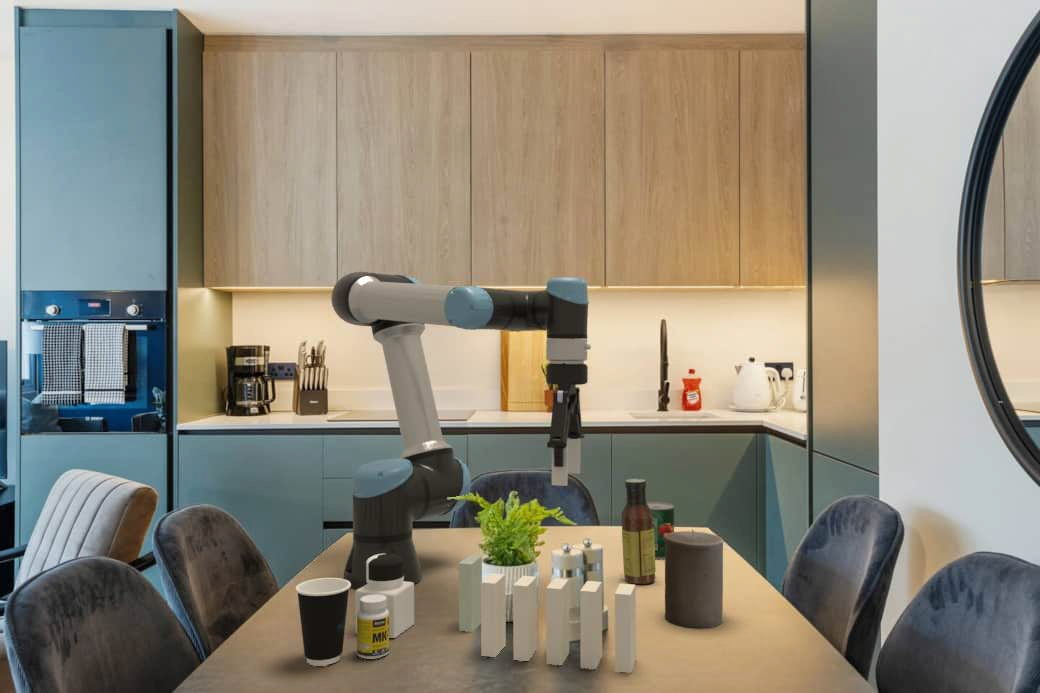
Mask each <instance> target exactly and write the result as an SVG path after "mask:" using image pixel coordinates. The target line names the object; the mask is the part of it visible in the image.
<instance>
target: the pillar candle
mask: <svg viewBox="0 0 1040 693" xmlns="http://www.w3.org/2000/svg"><path fill="white" fill-rule="evenodd" d="M723 573H724V539H723V537H721V536H718V535H715V534H713V533H712V534H711V533H708V532H704V531H694V529H691V530H690V531H687V530H685V531H674V532H672V533H669V534H667V535H666V536H665V559H664V619H666V620H667V621H668V622H670V623H671V624H673V625H676V626H679V627H680V626H681V627H684V628H692V629H694V628H695V629H706V628H713V627H717V626H719V625H721V624H722V623H723V615H724V614H723V611H724V610H723V609H724V608H723V607H724V606H723V604H724V602H723V598H724V597H723V596H724V588H723V587H724V574H723Z"/></svg>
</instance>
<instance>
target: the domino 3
mask: <svg viewBox="0 0 1040 693" xmlns="http://www.w3.org/2000/svg"><path fill="white" fill-rule="evenodd" d="M569 584H570V579H569V578H556V577H555V578H553V580H552V581H551V582H550V583H549V584H548V585H547V586H546V588H545V589H546V590H545V592H546V593H545V595H546V596H545V600H546V601H545V605H546V607H545V608H546V609H545V610H546V611H545V612H546V614H545V615H546V618H545V619H546V620H545V622H546V626H545V627H546V629H545V633H546V665H549V664H552V665H551V666H557V665H559V666H560V665H562V666H563V664H564V663H565V661H566V659H567V658H568V656H569V654H570V585H569ZM560 667H561V666H560Z"/></svg>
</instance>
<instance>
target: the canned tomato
mask: <svg viewBox="0 0 1040 693" xmlns="http://www.w3.org/2000/svg"><path fill="white" fill-rule="evenodd" d="M646 503H647V505H648V506H649V508H650V510H651V512H652V517H653V519H652V520H653V528H654V546H655V560H665V536H666V535H667V534H669V533H672V532H675V506H674V504H672V503H668V502H660V501H659V502H658V501H657V502H656V501H655V502H653V501H652V502H651V501H650V502H646Z"/></svg>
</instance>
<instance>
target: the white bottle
mask: <svg viewBox="0 0 1040 693" xmlns="http://www.w3.org/2000/svg"><path fill="white" fill-rule="evenodd" d="M366 582H367V583H368V584H367V585H365V586H363V587H361V588H359V589H355V593H354V594H355V597H354V598H355V599H354V600H355V608H354V609H355V634H356V635H357V614H358V612H359V611H360V610H361V609H360V598H362V597H363V596H367V595H374V594H377V595H384V596H386V597H387V607H386V609H387V610H388V611H389V638H395V639H396V638H398V637H399V636H400V635H402V634H403V633H404V632H406V631H407V630H409V629H410V628H412V625H413V626H414V625H415V584H414V583H413V582H406V581H404V559H403V558H402V557H401V556H399V555H397V554H391V553H384V554H377V555H374V556H372V557H370V558H368V560H367V561H366ZM405 630H406V631H405ZM401 633H402V634H401Z"/></svg>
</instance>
